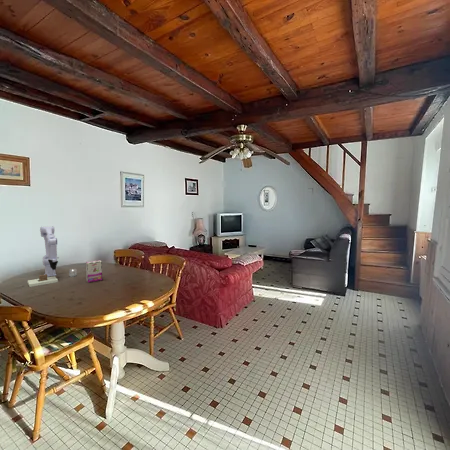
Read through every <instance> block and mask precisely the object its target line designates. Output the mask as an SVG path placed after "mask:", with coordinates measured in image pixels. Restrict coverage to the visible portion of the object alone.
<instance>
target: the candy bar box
mask: <svg viewBox="0 0 450 450" xmlns="http://www.w3.org/2000/svg"><path fill="white" fill-rule="evenodd" d="M85 264H86V265H85V267H86V268H85V269H86V270H85V272H86V274H85V275H86V282H87V283H93V282H99V281H103V262H102V260H100V259H99V260H93V261H86V262H85Z"/></svg>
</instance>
